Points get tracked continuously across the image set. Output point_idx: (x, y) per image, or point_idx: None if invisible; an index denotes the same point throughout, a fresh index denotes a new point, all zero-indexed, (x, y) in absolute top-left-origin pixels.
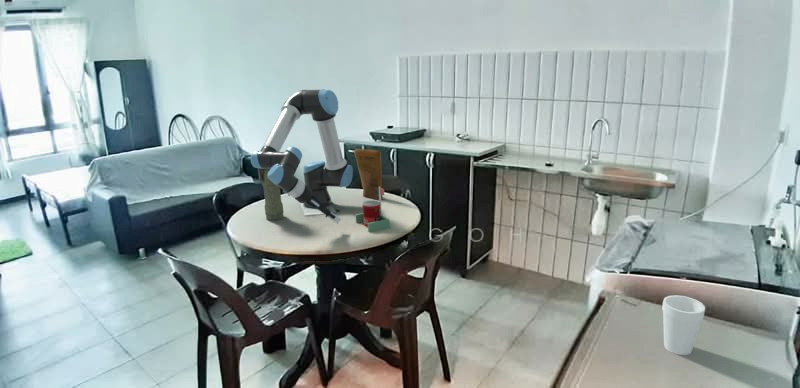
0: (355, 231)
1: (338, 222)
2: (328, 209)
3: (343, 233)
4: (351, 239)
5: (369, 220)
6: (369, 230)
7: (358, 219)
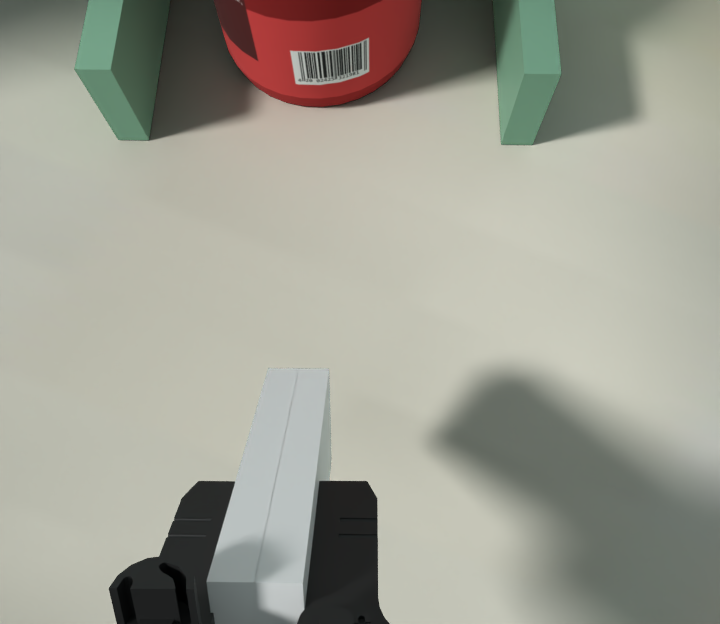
0: (420, 263)
1: (329, 432)
2: (181, 617)
3: (404, 419)
4: (677, 416)
5: (395, 18)
6: (537, 129)
7: (139, 92)
